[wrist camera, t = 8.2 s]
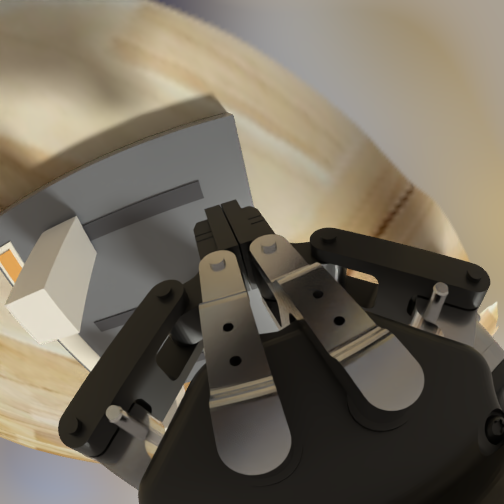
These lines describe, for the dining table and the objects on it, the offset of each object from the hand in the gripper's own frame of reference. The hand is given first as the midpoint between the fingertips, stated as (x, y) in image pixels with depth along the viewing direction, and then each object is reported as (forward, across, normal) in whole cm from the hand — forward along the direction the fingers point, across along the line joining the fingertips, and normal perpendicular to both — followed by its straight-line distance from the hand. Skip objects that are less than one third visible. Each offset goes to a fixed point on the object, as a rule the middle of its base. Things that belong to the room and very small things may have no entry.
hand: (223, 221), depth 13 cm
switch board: (+7, +7, +8) cm, 13 cm away
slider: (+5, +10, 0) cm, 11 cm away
